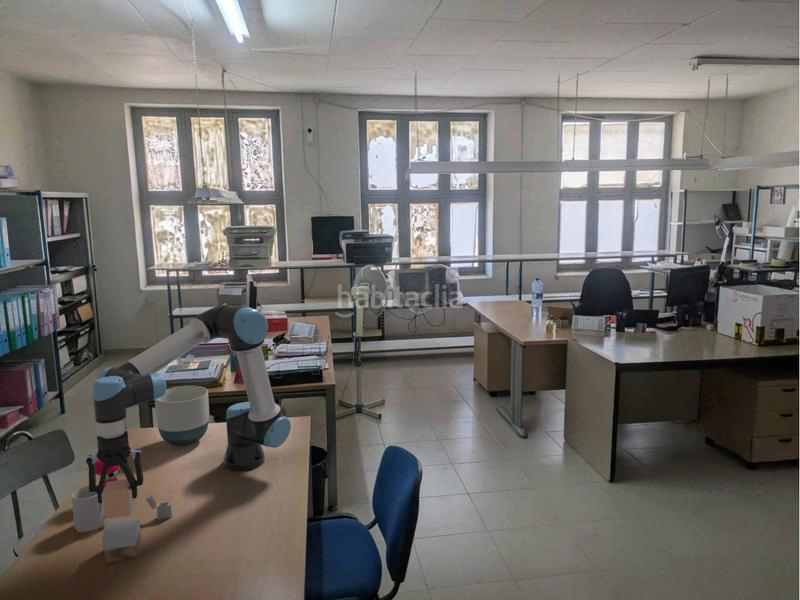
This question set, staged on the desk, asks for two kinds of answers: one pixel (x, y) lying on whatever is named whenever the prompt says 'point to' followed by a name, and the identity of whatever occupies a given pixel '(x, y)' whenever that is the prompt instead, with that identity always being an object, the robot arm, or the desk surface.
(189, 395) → the planter
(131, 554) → the tower base
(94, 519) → the mug
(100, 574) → the desk surface
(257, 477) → the desk surface
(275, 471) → the desk surface
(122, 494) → the clay block
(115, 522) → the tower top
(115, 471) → the toy
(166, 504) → the lighter
